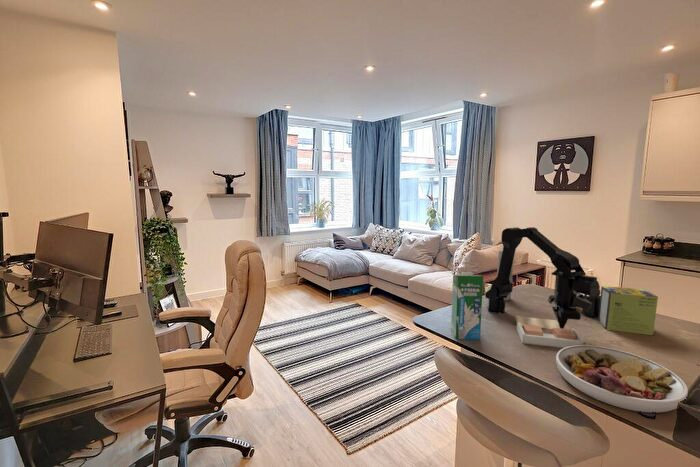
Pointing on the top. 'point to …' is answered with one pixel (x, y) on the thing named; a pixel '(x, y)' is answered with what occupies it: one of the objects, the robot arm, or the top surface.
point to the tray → (549, 339)
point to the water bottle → (510, 273)
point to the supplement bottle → (592, 306)
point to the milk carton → (467, 306)
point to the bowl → (621, 378)
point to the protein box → (627, 310)
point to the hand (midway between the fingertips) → (561, 328)
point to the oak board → (540, 323)
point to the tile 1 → (532, 330)
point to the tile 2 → (563, 333)
